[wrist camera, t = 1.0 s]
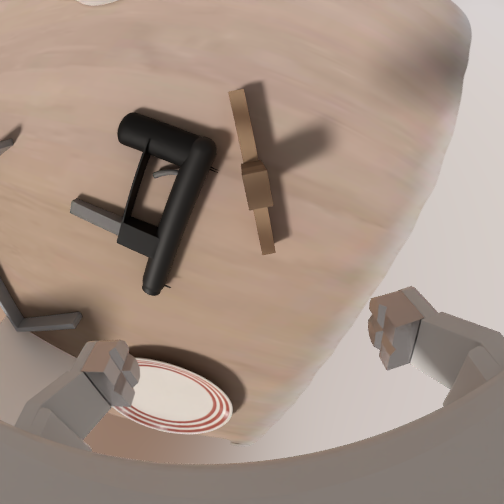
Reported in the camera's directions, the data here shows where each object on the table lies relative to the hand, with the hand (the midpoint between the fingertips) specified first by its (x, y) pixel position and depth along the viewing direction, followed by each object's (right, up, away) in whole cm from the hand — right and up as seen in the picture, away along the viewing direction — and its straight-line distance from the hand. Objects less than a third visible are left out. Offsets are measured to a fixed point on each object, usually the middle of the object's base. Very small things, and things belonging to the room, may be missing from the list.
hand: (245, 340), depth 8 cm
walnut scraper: (0, +11, +21) cm, 24 cm away
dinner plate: (-17, -25, +39) cm, 49 cm away
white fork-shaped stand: (-46, -20, +35) cm, 61 cm away
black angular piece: (-14, +9, +22) cm, 27 cm away
